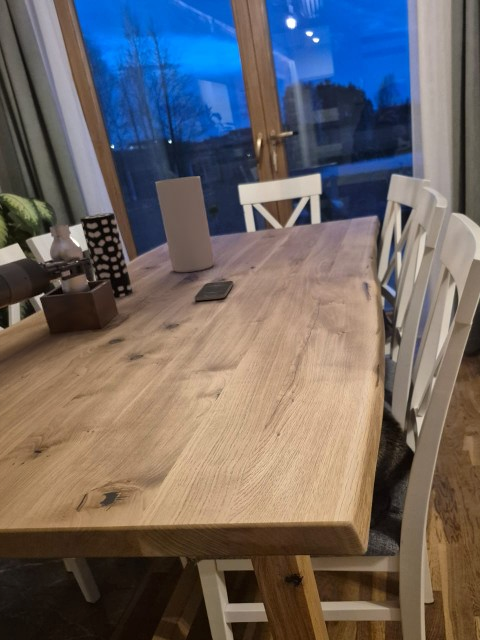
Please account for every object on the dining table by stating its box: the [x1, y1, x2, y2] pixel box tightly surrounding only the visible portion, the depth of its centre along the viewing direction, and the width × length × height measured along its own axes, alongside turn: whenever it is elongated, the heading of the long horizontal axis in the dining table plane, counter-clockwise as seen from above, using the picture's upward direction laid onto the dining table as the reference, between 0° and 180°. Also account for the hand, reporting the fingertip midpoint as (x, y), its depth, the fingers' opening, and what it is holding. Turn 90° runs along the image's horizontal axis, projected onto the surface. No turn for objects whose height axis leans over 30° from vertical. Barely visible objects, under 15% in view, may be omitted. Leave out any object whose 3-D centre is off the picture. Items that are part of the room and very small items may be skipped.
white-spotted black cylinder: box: [79, 212, 133, 299], centre depth 149 cm, size 8×8×20 cm
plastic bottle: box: [49, 224, 90, 294], centre depth 125 cm, size 6×7×20 cm
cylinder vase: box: [154, 175, 215, 273], centre depth 168 cm, size 12×12×25 cm
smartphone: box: [194, 280, 234, 301], centre depth 142 cm, size 7×1×15 cm
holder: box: [39, 279, 119, 335], centre depth 128 cm, size 12×12×8 cm
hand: (74, 262), depth 126 cm, fingers open, 8 cm apart
